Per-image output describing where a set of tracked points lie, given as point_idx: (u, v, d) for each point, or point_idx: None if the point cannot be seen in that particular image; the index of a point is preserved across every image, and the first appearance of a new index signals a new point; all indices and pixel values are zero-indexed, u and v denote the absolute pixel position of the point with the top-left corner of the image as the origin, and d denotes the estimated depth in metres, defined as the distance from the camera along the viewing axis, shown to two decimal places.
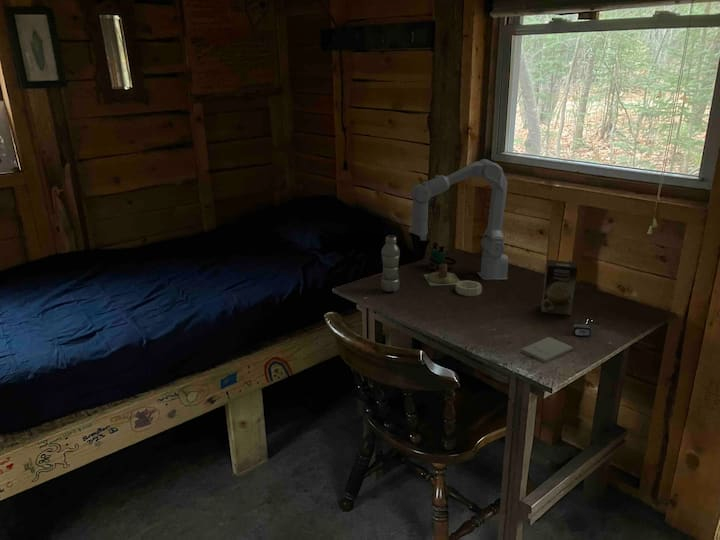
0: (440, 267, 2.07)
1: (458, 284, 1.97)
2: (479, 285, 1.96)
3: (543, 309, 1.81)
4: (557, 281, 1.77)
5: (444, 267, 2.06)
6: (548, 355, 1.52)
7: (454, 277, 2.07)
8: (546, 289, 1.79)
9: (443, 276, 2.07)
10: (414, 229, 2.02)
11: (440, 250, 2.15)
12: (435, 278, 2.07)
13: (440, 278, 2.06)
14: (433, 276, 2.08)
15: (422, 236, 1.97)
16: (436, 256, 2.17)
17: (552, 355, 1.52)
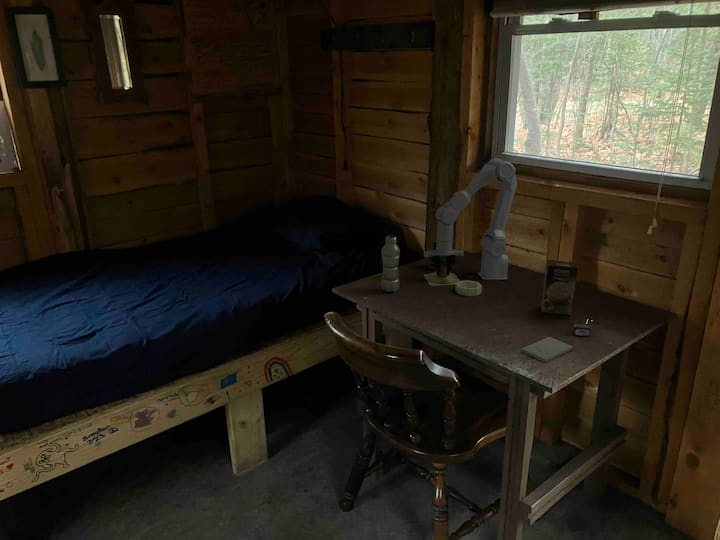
0: (440, 267, 2.07)
1: (458, 284, 1.97)
2: (479, 285, 1.96)
3: (543, 309, 1.81)
4: (557, 281, 1.77)
5: (444, 267, 2.06)
6: (548, 355, 1.52)
7: (454, 277, 2.07)
8: (546, 289, 1.79)
9: (443, 276, 2.07)
10: None
11: None
12: (435, 278, 2.07)
13: (440, 278, 2.06)
14: (433, 276, 2.08)
15: (424, 252, 2.05)
16: None
17: (552, 355, 1.52)
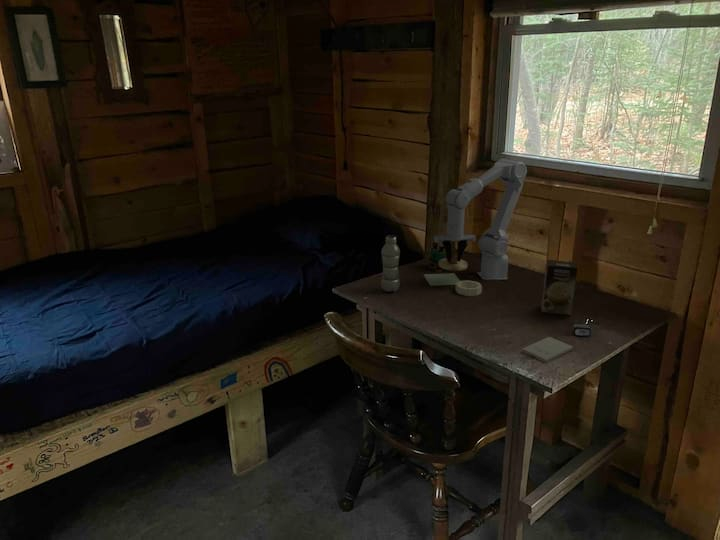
0: (451, 253, 2.00)
1: (458, 284, 1.97)
2: (479, 285, 1.96)
3: (543, 309, 1.81)
4: (557, 281, 1.77)
5: (455, 253, 1.99)
6: (549, 355, 1.52)
7: (465, 264, 2.01)
8: (546, 289, 1.79)
9: (454, 262, 2.00)
10: None
11: (440, 250, 2.15)
12: (445, 264, 2.00)
13: (451, 264, 2.00)
14: (443, 262, 2.02)
15: (434, 237, 1.98)
16: (436, 256, 2.17)
17: (553, 355, 1.52)
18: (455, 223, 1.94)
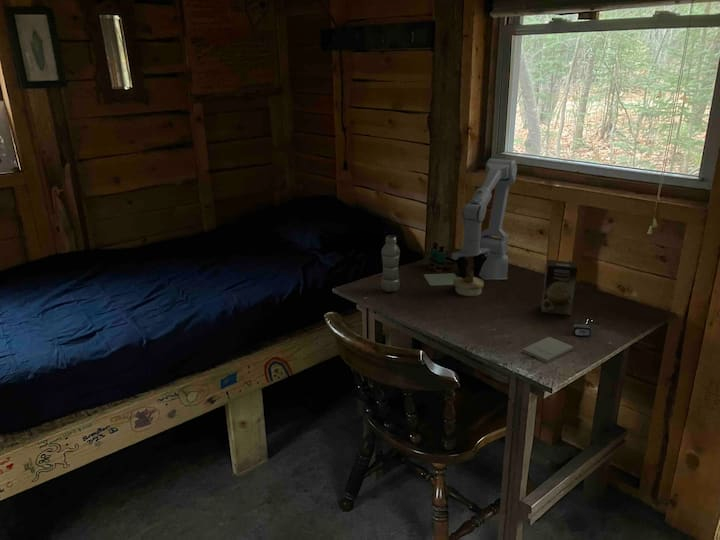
0: (467, 272, 1.94)
1: None
2: None
3: (543, 309, 1.81)
4: (557, 281, 1.77)
5: (472, 271, 1.94)
6: (549, 355, 1.52)
7: (481, 281, 1.97)
8: (546, 289, 1.79)
9: (470, 281, 1.95)
10: None
11: (440, 250, 2.15)
12: (464, 284, 1.94)
13: (469, 284, 1.94)
14: (460, 282, 1.95)
15: (452, 254, 1.90)
16: (436, 256, 2.17)
17: (553, 355, 1.52)
18: (475, 238, 1.88)
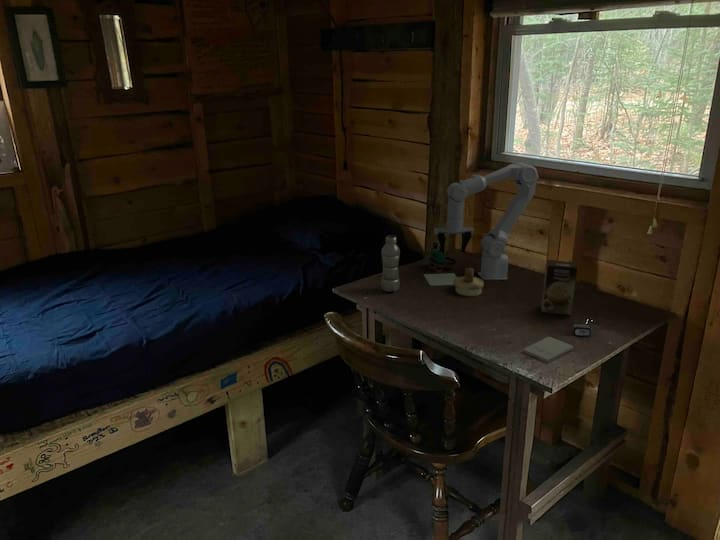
0: (467, 272, 1.94)
1: None
2: None
3: (543, 309, 1.81)
4: (557, 281, 1.77)
5: (472, 271, 1.94)
6: (550, 355, 1.52)
7: (481, 281, 1.97)
8: (546, 289, 1.79)
9: (470, 281, 1.95)
10: None
11: (440, 250, 2.15)
12: (464, 284, 1.94)
13: (469, 284, 1.94)
14: (460, 282, 1.95)
15: (434, 229, 2.04)
16: (436, 256, 2.17)
17: (554, 355, 1.52)
18: (452, 215, 2.01)
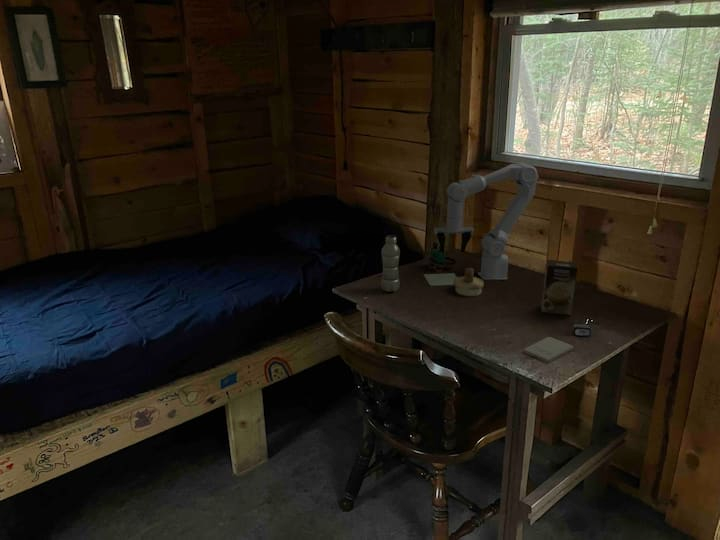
0: (467, 272, 1.94)
1: None
2: None
3: (543, 309, 1.81)
4: (557, 281, 1.77)
5: (472, 271, 1.94)
6: (550, 355, 1.52)
7: (481, 281, 1.97)
8: (546, 289, 1.79)
9: (470, 281, 1.95)
10: None
11: (440, 250, 2.15)
12: (464, 284, 1.94)
13: (469, 284, 1.94)
14: (460, 282, 1.95)
15: (434, 229, 2.05)
16: (436, 256, 2.17)
17: (554, 355, 1.52)
18: (451, 215, 2.01)
